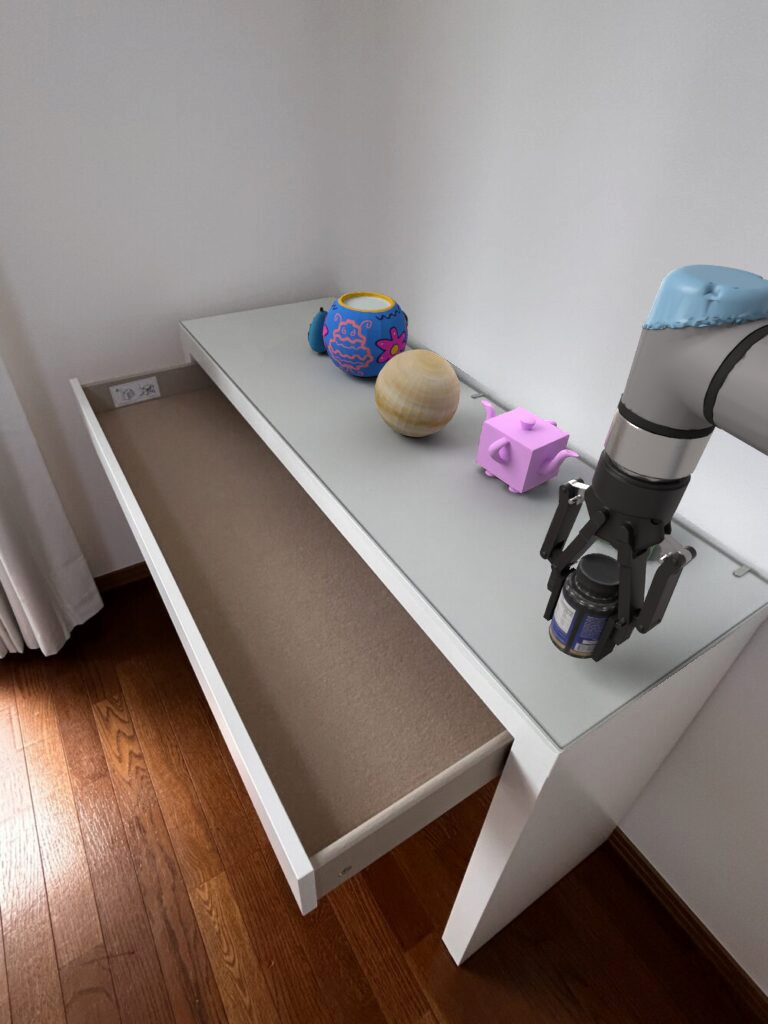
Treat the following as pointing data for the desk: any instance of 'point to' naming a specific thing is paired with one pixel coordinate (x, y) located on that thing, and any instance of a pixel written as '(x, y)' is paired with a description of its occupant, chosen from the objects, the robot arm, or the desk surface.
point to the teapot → (521, 448)
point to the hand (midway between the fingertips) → (577, 633)
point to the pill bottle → (585, 605)
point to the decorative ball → (417, 393)
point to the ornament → (317, 332)
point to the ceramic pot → (364, 332)
